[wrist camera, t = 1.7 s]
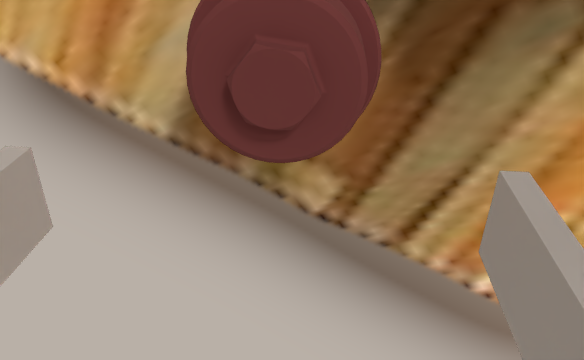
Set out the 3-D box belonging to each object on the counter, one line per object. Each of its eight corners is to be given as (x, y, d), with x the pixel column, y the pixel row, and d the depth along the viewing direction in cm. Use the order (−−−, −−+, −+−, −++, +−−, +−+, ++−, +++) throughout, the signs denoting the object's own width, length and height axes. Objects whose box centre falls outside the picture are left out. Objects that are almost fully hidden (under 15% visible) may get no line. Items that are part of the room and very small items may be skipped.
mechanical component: (390, 72, 33) (255, 118, 35) (343, -85, 29) (193, -20, 31) (415, 154, 22) (219, 211, 25) (346, -77, 18) (117, 21, 20)
